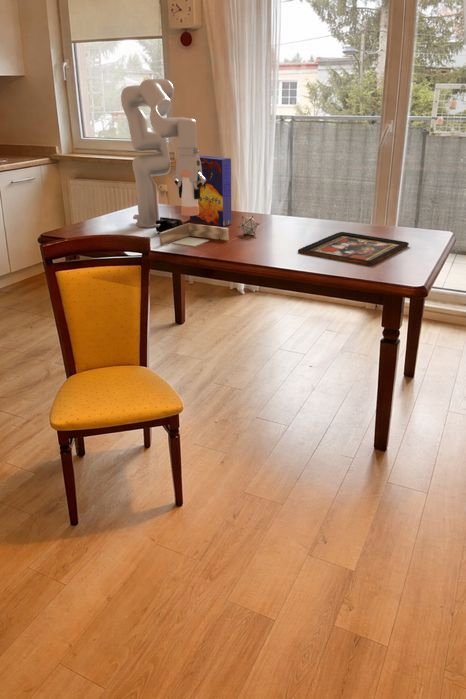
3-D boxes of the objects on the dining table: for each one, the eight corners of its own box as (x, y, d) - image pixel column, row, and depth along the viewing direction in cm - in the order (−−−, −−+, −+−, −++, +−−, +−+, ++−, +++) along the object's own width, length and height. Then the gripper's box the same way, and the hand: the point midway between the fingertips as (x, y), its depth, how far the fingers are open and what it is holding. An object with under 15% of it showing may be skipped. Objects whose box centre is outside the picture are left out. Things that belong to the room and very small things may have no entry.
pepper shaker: (195, 211, 248) (193, 164, 240) (201, 214, 242) (200, 166, 234) (178, 213, 245) (176, 165, 237) (185, 216, 239) (182, 167, 231)
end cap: (183, 233, 263) (182, 218, 260) (174, 236, 257) (173, 221, 255) (164, 230, 267) (163, 215, 265) (155, 234, 262) (154, 218, 259)
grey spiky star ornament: (251, 243, 260) (256, 228, 251) (234, 236, 260) (238, 220, 251) (258, 229, 264) (263, 214, 256) (241, 222, 264) (245, 207, 256)
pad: (172, 243, 246) (172, 242, 246) (187, 237, 255) (187, 237, 255) (194, 246, 241) (194, 245, 241) (209, 240, 250) (209, 240, 250)
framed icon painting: (330, 235, 259) (331, 228, 257) (410, 246, 242) (411, 239, 241) (293, 257, 229) (293, 250, 228) (381, 271, 213) (382, 263, 212)
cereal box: (190, 220, 287) (187, 155, 275) (198, 217, 291) (196, 154, 279) (222, 226, 274) (221, 159, 261) (231, 224, 278) (230, 157, 265)
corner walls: (160, 244, 244) (159, 232, 242) (188, 234, 261) (187, 222, 259) (202, 251, 235) (201, 238, 233) (228, 239, 251) (228, 228, 249)
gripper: (211, 152, 232) (212, 198, 240) (175, 150, 240) (177, 194, 248) (201, 154, 226) (202, 201, 234) (164, 152, 234) (166, 197, 242)
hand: (189, 197), depth 241 cm, fingers closed on pepper shaker, 6 cm apart
